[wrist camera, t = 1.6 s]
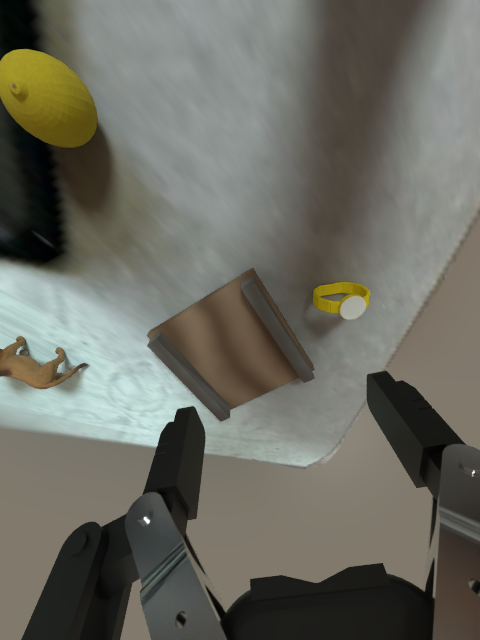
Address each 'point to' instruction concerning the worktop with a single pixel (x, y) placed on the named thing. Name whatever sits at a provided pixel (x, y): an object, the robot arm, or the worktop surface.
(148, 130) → the worktop surface
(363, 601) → the robot arm
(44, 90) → the lemon
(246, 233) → the worktop surface
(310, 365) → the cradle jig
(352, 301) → the watch
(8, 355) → the lion figurine
